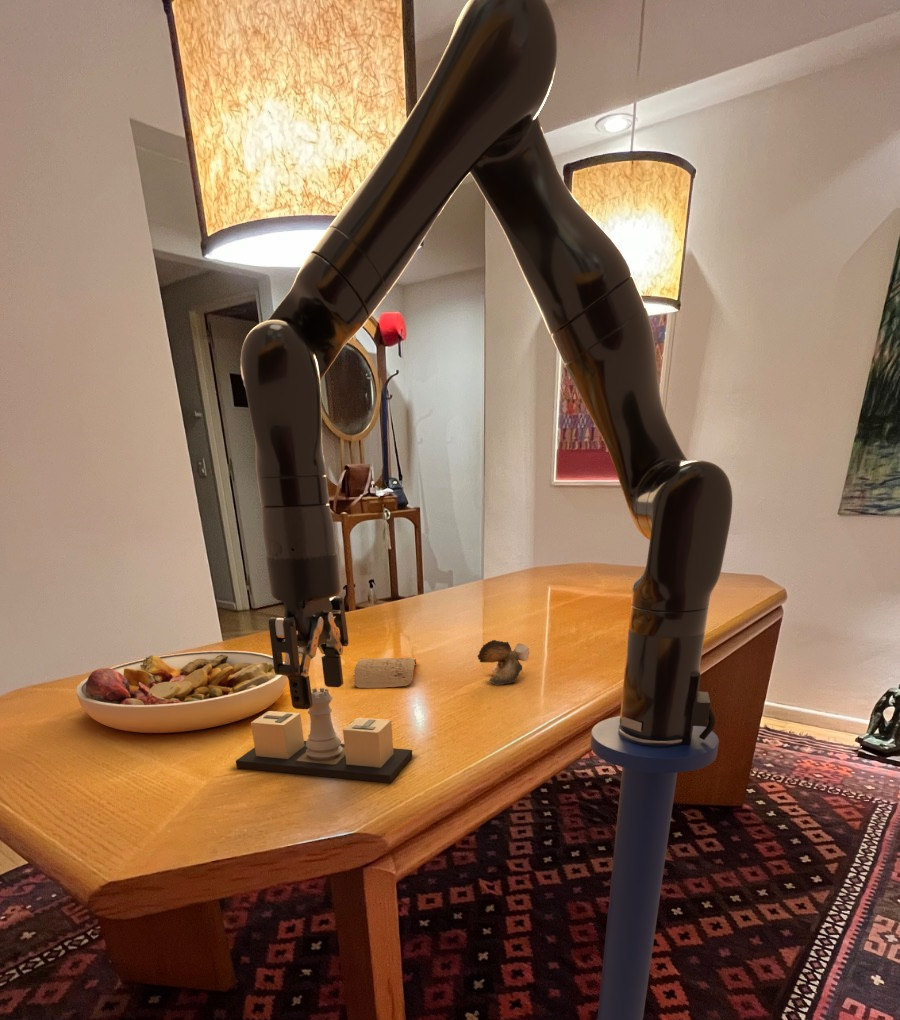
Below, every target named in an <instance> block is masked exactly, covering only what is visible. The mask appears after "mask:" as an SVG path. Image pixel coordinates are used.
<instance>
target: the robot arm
mask: <svg viewBox="0 0 900 1020" xmlns="http://www.w3.org/2000/svg"><path fill="white" fill-rule="evenodd" d="M557 35H558V34H557V28H556V24H555V19H554V17H553V14H552V11H551V8H550V6H549V4H548V2H547V0H468V1H467V2H466V4H465V5H464V7H463V8H462V10H461V12H460V13H459V16H458V18H457V20H456V22H455V24H454V28H453V31H452V34H451V36H450V39H449V42H448V45H447V46H446V48H445V50H444V52H443V55H441V59H440V60H439V62H438V64H437V66H436V69H435V71H434V72H433V74H432V76H431V77H430V80H429V82H428V84H427V85H426V87H425V89H424V90H423V92H422V93H421V95H420V97H419V99H418V101H417V102H416V103H415V105H414V107H413V108H412V110H411V112H410V113H409V115H408V117H407V118H406V120H405V122H404V123H403V124H402V126H401V128H400V129H399V131H398V132H397V134H396V135H395V137H394V138H393V140H392V141H391V142H390V144H389V145H388V147H387V148H386V150H385V151H384V152H383V153H382V155H381V157H380V158H379V160H378V161H377V162H376V163H375V165H374V166H373V167H372V169H371V170H370V171H369V173H368V174H367V175H366V177H365V178H364V179H363V181H361V183H360V185H358V188H356V190H355V192H353V194H352V195H351V197H350V198H349V199H348V201H347V202H346V203H345V205H344V206H343V207H342V209H341V210H340V211H339V213H338V214H337V215H336V217H335V218H334V219H333V221H332V222H331V223H330V224H329V226H328V227H327V229H326V230H325V232H324V233H323V234H322V235H321V237H320V238H319V240H318V241H317V243H316V244H315V245H314V246H313V248H312V250H311V251H310V253H309V254H308V255H307V257H305V260H304V261H303V263H302V265H301V266H300V269H299V270H298V272H297V274H296V276H295V278H294V282H293V283H292V286H291V288H290V290H289V291H288V292H287V294H286V296H284V298H283V299H282V300H281V302H280V303H279V304H278V306H277V307H276V308H275V310H274V311H273V312H272V313H271V315H270V316H269V317H268V319H267V320H265V321H262V322H260V323H258V324H257V325H256V326H254V327H253V328H252V329H251V330H250V331H249V333H248V334H247V335H246V337H245V339H244V342H243V345H242V347H241V350H240V351H241V352H240V374H241V379H242V382H243V386H244V388H245V394H246V399H247V406H248V410H249V416H250V421H251V427H252V432H253V437H254V443H255V473H256V481H257V488H258V495H259V502H260V506H261V530H262V531H261V533H262V540H263V547H264V552H265V553H264V554H265V559H266V560H265V561H266V567H267V573H268V579H269V588H270V593H271V596H272V598H273V599H275V600H277V601H281V602H282V603H283V605H284V614H283V617H269V619H268V629H269V638H270V646H271V647H270V648H271V653H272V655H271V656H273V664H274V671H275V674H276V675H285V676H287V681H288V685H289V693H290V699H291V700H290V701H291V705H292V707H293V709H296V710H309V708H311V707H312V705H313V702H312V695H311V693H312V688H311V680H310V679H311V678H310V675H309V672H310V666H311V661H312V659H314V658H315V657H316V655H317V650H319V651H320V654H321V655H322V656H321V665H322V672H323V674H322V675H323V682H324V685H325V686H326V687H328V688H340V687H341V686H343V685H344V677H343V666H342V658H341V657H342V656H343V653H344V647H348V646H349V634H348V625H347V617H346V610H345V603H344V598H343V596H339V595H340V593H341V578H340V569H339V559H338V550H337V541H336V529H335V524H334V519H333V516H332V511H331V504H330V496H329V495H330V494H329V486H328V478H327V476H328V475H327V467H326V462H325V457H324V451H323V426H322V425H323V422H322V421H323V418H322V392H321V381H322V379H323V378H324V376H325V375H326V373H327V372H328V370H329V369H330V367H331V366H332V364H333V363H334V362H335V360H336V358H337V357H338V355H339V354H340V352H341V351H342V349H343V348H344V346H346V344H347V343H349V341H350V340H352V338H354V337H355V335H356V334H357V333H358V332H359V331H360V330H361V329H362V328H363V327H364V326H365V324H366V323H367V322H368V320H369V319H370V318H371V316H373V314H374V313H375V312H376V310H377V308H378V307H379V306H380V305H381V303H382V302H383V300H384V299H385V298H386V297H387V296H388V294H389V293H390V291H391V290H392V289H393V287H394V286H395V284H396V283H397V282H398V280H399V279H400V277H401V276H402V274H403V273H404V271H405V269H406V268H407V266H408V265H409V263H410V262H411V261H412V259H413V258H414V256H415V254H416V253H417V251H418V250H419V248H420V246H421V244H422V243H423V241H424V240H425V238H426V236H427V235H428V233H429V231H430V230H431V228H432V227H433V225H434V223H435V222H436V220H437V219H438V218H439V215H440V214H441V213H442V212H443V210H444V208H445V207H446V205H447V204H448V202H449V201H450V199H451V197H452V196H453V195H454V193H455V192H456V191H457V189H458V188H459V187H460V185H461V184H462V183H463V181H464V180H465V179H466V177H467V176H468V175H469V174H470V175H471V177H472V179H473V180H474V182H475V185H476V186H477V187H478V189H479V191H480V193H481V194H482V196H483V197H484V199H485V201H486V202H487V204H488V206H489V208H490V210H491V211H492V213H493V215H494V217H495V218H496V220H497V222H498V223H499V226H500V228H501V229H502V231H503V234H504V235H505V237H506V239H507V241H508V243H509V246H510V248H511V250H512V253H513V255H514V257H515V259H516V262H517V264H518V266H519V269H520V271H521V273H522V275H523V278H524V280H525V282H526V284H527V286H528V288H529V290H530V292H531V295H532V297H533V299H534V300H535V303H536V305H537V307H538V310H539V311H540V314H541V316H542V319H543V321H544V324H545V327H546V329H547V331H548V333H549V335H551V336H550V338H551V339H552V342H553V343H554V346H555V348H556V350H557V352H558V354H559V357H560V359H561V360H562V363H563V365H564V367H565V369H566V371H567V373H568V375H569V376H570V378H571V380H572V382H573V384H574V386H575V388H576V390H577V392H578V395H579V397H580V399H581V401H582V402H583V404H584V405H583V406H584V407H585V409H586V411H587V412H588V415H589V416H590V418H591V420H592V422H593V424H594V426H595V428H596V430H597V432H598V433H599V435H600V437H601V439H602V441H603V443H604V445H605V447H606V449H607V451H608V453H609V456H610V459H611V463H612V464H613V467H614V470H615V473H616V476H617V479H618V482H619V484H620V487H621V490H622V493H623V496H624V499H625V502H626V505H627V508H628V511H629V514H630V516H631V519H632V522H633V524H634V525H635V527H636V529H637V530H638V532H640V534H641V535H642V537H644V538H646V539H647V540H649V545H648V552H647V559H646V565H645V568H644V570H643V572H642V575H641V576H640V577H639V578H637V579H636V580H635V581H634V582H633V585H632V590H631V599H630V600H631V601H630V611H629V621H628V632H627V643H626V654H625V664H624V673H623V684H622V693H621V694H622V695H621V706H620V715H619V716H620V724H619V728H618V734H619V736H620V737H621V738H623V739H624V740H626V741H629V742H631V743H634V744H638V745H642V746H649V747H673V746H679V745H691V738H692V731H693V726H704V727H706V729H705V730H704V731H703V732H702V733H701V734H700V736H699V737H700V738H701V739H703V740H705V738H706V737H707V736H708V735H709V734H710V733H711V731H713V730H714V728H715V725H716V717H715V715H714V713H713V710H712V708H711V700H710V695H709V691H699V689H700V683H701V682H700V681H701V674H702V673H701V669H700V668H701V663H702V655H703V649H704V642H705V636H706V635H705V634H706V627H707V622H708V621H707V620H708V615H709V614H708V613H709V606H710V602H711V601H710V600H711V595H712V593H713V592H714V589H715V587H716V586H717V584H718V582H719V580H720V576H721V573H722V568H723V564H724V558H725V553H726V547H727V543H728V538H729V532H730V526H731V520H732V513H733V488H732V485H731V481H730V478H729V477H728V475H727V474H726V472H725V471H724V470H723V469H722V468H721V467H720V466H719V465H717V464H715V463H713V462H711V461H706V460H696V459H694V460H693V459H691V460H690V459H689V460H688V459H687V457H686V456H685V454H684V452H683V450H682V448H681V447H680V444H679V443H678V440H677V438H676V437H675V434H674V432H673V430H672V428H671V426H670V424H669V421H668V419H667V416H666V413H665V410H664V407H663V403H662V399H661V392H660V383H659V371H658V360H657V349H656V342H655V335H654V330H653V327H652V324H651V319H650V317H649V314H648V311H647V308H646V305H645V303H644V301H643V297H642V296H641V293H640V290H639V288H638V286H637V283H636V281H635V278H634V276H633V275H632V274H633V273H632V271H631V269H630V267H629V265H628V262H627V261H626V259H625V257H624V255H623V253H622V252H621V250H620V248H619V247H618V246H617V245H616V243H615V242H614V240H612V238H611V237H610V236H609V235H608V233H607V232H606V231H605V230H604V229H603V228H602V227H601V225H600V224H599V223H597V221H596V220H595V219H594V218H593V217H592V216H591V215H590V214H589V213H588V212H587V211H586V210H585V209H584V208H583V207H582V205H580V203H579V202H578V201H577V200H576V198H575V197H574V195H573V194H572V193H571V191H570V190H569V188H568V187H567V185H566V184H565V182H564V180H563V178H562V176H561V174H560V172H559V169H558V168H557V165H556V163H555V160H554V157H553V156H552V153H551V149H550V148H549V144H548V142H547V140H546V137H545V134H544V131H543V128H542V124H541V122H540V118H539V116H538V115H539V113H540V111H541V110H542V108H543V106H544V104H545V102H546V100H547V97H548V96H549V93H550V90H551V87H552V84H553V80H554V76H555V72H556V69H557V68H556V67H557V59H558V36H557ZM283 654H285V657H283ZM283 658H284V660H283ZM300 658H301V659H300ZM283 662H284V664H283Z"/></svg>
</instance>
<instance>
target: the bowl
mask: <svg viewBox="0 0 900 1020" xmlns="http://www.w3.org/2000/svg"><path fill="white" fill-rule="evenodd" d="M284 662H285V661H283V664H284ZM287 683H288V677H287V676H285V675H276V674H275V671H274V664H273V655H270V654H265V653H262V652H255V651H243V650H203V651H201V650H200V651H188V652H180V653H171V654H164V655H158V656H157V655H149V656H146V657H145V658H142V659H138V660H133V661H129V662H124V663H120V664H118V665H114V666H111V667H107V668H106V667H104V668H98V669H94V670H93V671H92V672H91V674H89V676H88V677H86V678H85V679H83V680H82V681H80V683H79V684H78V685H77V686H76V690H75V692H76V697H77V701H78V703H79V705H80V706H81V708H82V709H83V711H84V712H85V713H86V714H87V715H88V716H89V717H90V718H92V719H93V720H94V721H95V722H98V723H99V724H101V725H104V726H106V727H109V728H111V729H116V730H119V731H125V732H130V733H131V732H133V733H141V734H142V733H144V734H167V733H168V734H171V733H184V732H192V731H198V730H204V729H211V728H214V727H220V726H224V725H227V724H231V723H235V722H238V721H240V720H244V719H247V718H250V717H252V716H254V715H256V714H259V713H260V712H263V711H264V710H266V709H267V708H269V707H271V706H272V705H273V704H274V703H276V702H277V701H278V699H280V697H281V696H282V694H283V693H284V691H285V690H286V687H287Z"/></svg>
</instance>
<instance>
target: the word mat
mask: <svg viewBox="0 0 900 1020" xmlns="http://www.w3.org/2000/svg"><path fill="white" fill-rule="evenodd" d="M306 742H307V740H304V747H303V748H301V749H300V750H299V751H298V752H296V753H295V754H294V755H293V756H291V757H290V758H289V759H282V758H271V757H260V756H256V752H255V746H254V747H253V748H251V749H250V750H249V751H247V752H246V753H244V754H243V755H242V756H240V757H239V758H237V759H236V760H235V766H236V768H237V769H243V770H254V771H263V772H264V771H265V772H275V773H284V774H292V775H293V774H295V775H304V776H314V777H315V776H316V777H325V778H334V779H336V778H337V779H345V780H355V781H366V782H377V783H386V784H391V783H392V782H393V781H394V780H395V778H396V777H397V776H398V775H399V774H400V772H401V771H402V770H403V769H404V768H405V766H406V765H407V764H409V762H410V761H411V759H412V758H413V750H412V749H406V748H397V747H396V748H395V747H393V753H394V754H393V755H392V756H391V757H390V758H389V759H388V760H387V761H386V763H385V764H384V765H383V766H382V767H381V768H379V767H368V766H357V765H347V764H346V755H345V745H344V743H341V745H340V746H341V747H342V752H341V753H340V755H339V756H337V757H335V758H333V759H328V760H315V759H312V758H310V757H309V755H308V754H307V753H306V751H307V749H308V748H307V747H306Z"/></svg>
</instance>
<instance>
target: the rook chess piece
mask: <svg viewBox="0 0 900 1020" xmlns="http://www.w3.org/2000/svg"><path fill="white" fill-rule="evenodd" d="M311 695H312V702H313V705H312V707H311V708H309V709H308V711H307V714H308V715H309V719H310V728H309V729H310V730H309V731H310V732H309V734H308V739H307V740H306V741H307V742H306V747H307V748H308V749H307V751H306V753H307V754H308V755H309V757H310V758H312V759H315V760H328V759H333V758H335V757H337V756H339V755H340V753H341V752H342V747H341V746H340V745H341V744H342V740H341V738H340V737H339V736H338V733H337V732H336V731H335V728H334V725H333V721H332V715H331V713H332V709H331V707H330V703H331V702H332V700H333V696H332V695H331V694H330V692H329V689H328V688H325V687H319V691H318V689H317V688H316V687H315V688H311Z"/></svg>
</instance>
